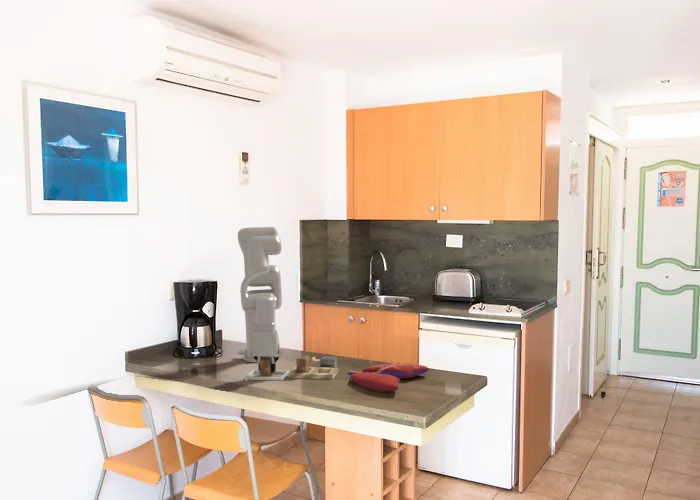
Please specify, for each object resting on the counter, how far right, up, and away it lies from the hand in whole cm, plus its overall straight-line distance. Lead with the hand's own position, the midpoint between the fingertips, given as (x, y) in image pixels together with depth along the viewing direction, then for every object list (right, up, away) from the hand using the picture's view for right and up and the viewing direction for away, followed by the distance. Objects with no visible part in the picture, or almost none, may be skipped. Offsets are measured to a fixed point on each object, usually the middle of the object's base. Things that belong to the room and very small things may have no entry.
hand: (267, 371), depth 244 cm
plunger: (+20, +1, +10) cm, 22 cm away
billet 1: (0, -1, 0) cm, 1 cm away
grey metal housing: (+24, -2, +9) cm, 26 cm away
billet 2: (+15, -1, +1) cm, 15 cm away
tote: (0, -3, -1) cm, 3 cm away
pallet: (+19, -2, 0) cm, 19 cm away
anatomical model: (+45, -3, -6) cm, 46 cm away
